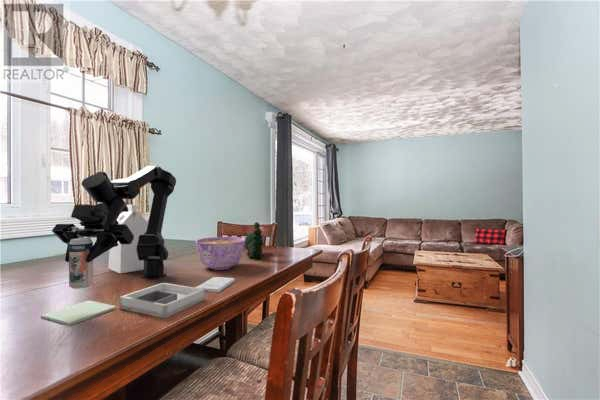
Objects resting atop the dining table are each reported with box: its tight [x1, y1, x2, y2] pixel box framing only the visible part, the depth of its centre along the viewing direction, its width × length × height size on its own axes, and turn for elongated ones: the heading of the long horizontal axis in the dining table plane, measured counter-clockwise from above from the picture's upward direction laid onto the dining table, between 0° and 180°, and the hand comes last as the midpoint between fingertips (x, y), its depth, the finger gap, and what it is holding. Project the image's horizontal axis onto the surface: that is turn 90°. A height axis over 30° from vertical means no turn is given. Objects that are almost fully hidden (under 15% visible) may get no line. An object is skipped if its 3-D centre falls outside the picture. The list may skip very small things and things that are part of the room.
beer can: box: [68, 237, 94, 290], centre depth 73 cm, size 5×5×12 cm
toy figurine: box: [244, 221, 264, 259], centre depth 144 cm, size 9×19×25 cm
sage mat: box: [40, 300, 117, 326], centre depth 73 cm, size 11×11×1 cm
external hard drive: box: [194, 276, 236, 293], centre depth 97 cm, size 2×8×12 cm
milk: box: [107, 204, 148, 274], centre depth 119 cm, size 12×12×26 cm
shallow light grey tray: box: [118, 282, 206, 319], centre depth 80 cm, size 16×14×3 cm
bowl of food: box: [195, 236, 245, 271], centre depth 121 cm, size 20×20×12 cm
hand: (76, 261), depth 72 cm, fingers closed on beer can, 5 cm apart
